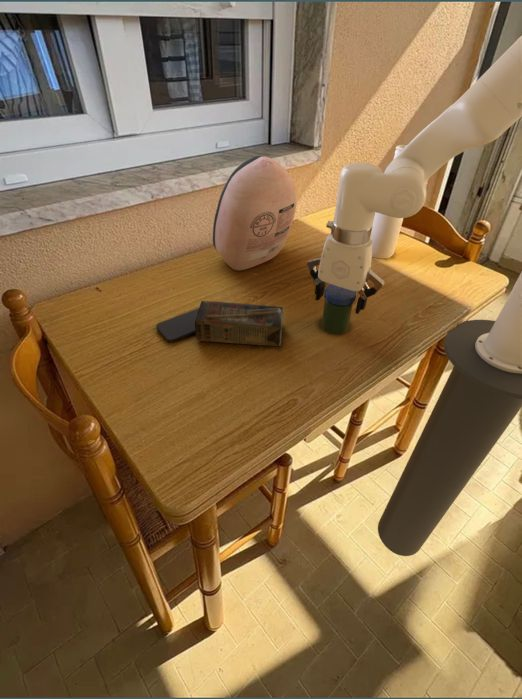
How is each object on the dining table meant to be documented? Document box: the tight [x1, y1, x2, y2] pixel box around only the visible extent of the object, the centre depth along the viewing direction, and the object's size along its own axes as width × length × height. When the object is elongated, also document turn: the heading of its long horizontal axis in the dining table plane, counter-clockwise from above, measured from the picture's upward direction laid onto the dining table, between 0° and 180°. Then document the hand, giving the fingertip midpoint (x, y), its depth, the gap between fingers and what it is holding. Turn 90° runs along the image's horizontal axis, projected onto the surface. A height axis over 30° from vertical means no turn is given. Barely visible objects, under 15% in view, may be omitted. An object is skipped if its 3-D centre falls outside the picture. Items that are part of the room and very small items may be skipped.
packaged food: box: [212, 155, 298, 272], centre depth 103 cm, size 22×20×30 cm
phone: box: [156, 308, 199, 343], centre depth 90 cm, size 7×1×15 cm
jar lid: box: [323, 284, 358, 306], centre depth 85 cm, size 7×7×2 cm
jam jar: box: [320, 298, 355, 335], centre depth 88 cm, size 6×6×9 cm
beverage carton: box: [195, 300, 284, 347], centre depth 85 cm, size 8×19×7 cm, turn 86°
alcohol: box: [370, 144, 408, 259], centre depth 109 cm, size 9×9×30 cm
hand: (338, 304), depth 86 cm, fingers open, 9 cm apart
